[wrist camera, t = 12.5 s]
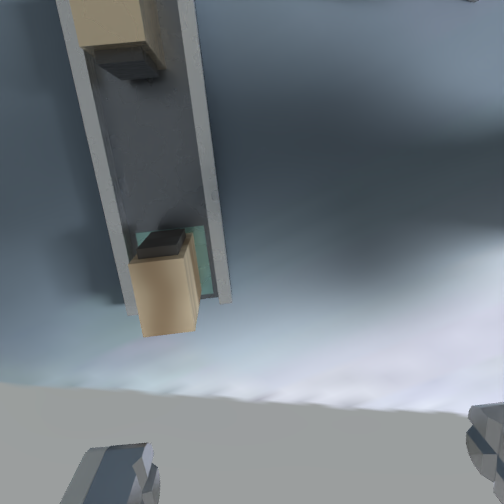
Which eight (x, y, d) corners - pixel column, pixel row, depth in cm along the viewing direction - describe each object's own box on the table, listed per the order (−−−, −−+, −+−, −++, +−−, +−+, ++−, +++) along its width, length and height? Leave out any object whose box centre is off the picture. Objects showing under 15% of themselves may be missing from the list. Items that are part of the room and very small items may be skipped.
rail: (190, -28, 28) (175, -107, 19) (231, 291, 36) (233, 336, 27) (64, -18, 27) (-9, -94, 19) (134, 303, 36) (106, 352, 27)
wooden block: (191, 224, 33) (181, 247, 25) (201, 290, 35) (195, 330, 27) (148, 228, 32) (125, 253, 25) (161, 295, 34) (143, 337, 27)
